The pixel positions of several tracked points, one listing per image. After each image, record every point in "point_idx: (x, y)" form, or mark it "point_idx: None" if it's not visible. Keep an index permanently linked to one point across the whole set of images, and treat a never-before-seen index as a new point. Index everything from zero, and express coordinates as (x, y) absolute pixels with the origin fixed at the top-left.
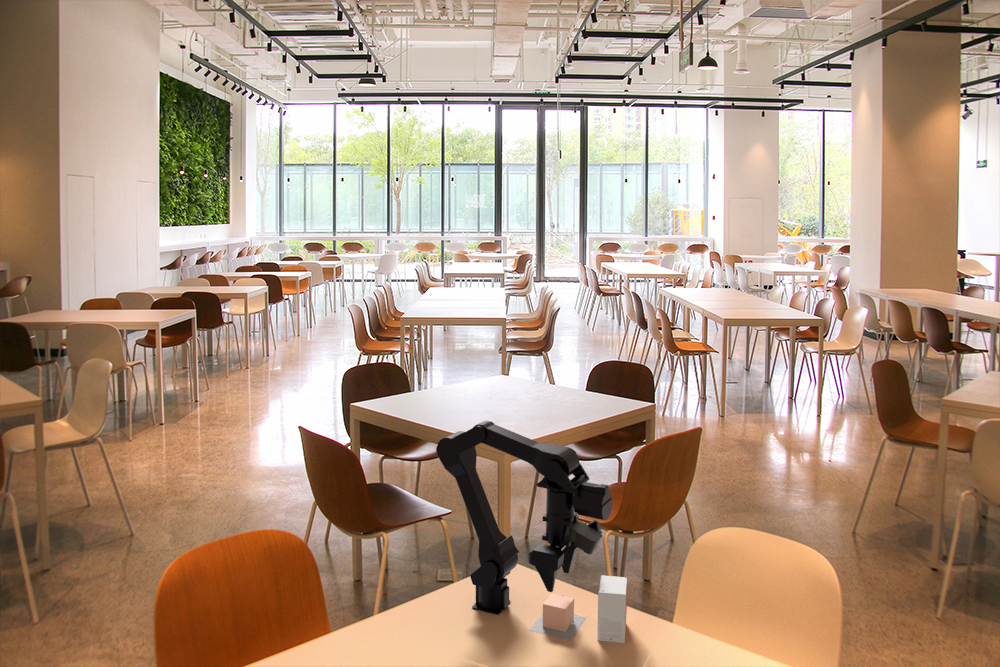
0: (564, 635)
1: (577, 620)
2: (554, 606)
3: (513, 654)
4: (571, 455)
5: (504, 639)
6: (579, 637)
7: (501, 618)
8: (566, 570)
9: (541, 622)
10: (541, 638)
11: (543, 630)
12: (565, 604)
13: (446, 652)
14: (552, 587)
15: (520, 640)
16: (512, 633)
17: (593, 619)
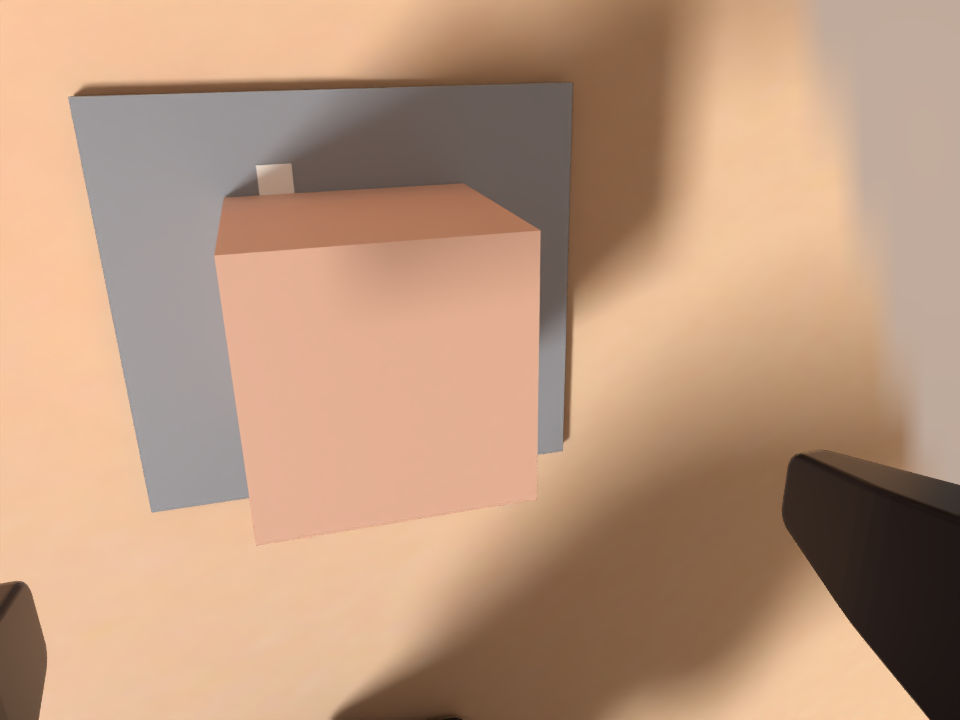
0: (516, 166)
1: (194, 164)
2: (538, 371)
3: (853, 382)
4: None
5: (713, 519)
6: (460, 28)
7: (480, 678)
8: (20, 649)
9: None
10: (610, 320)
11: None
12: (430, 284)
13: None
14: (916, 478)
15: (689, 431)
16: (627, 520)
17: (31, 16)
